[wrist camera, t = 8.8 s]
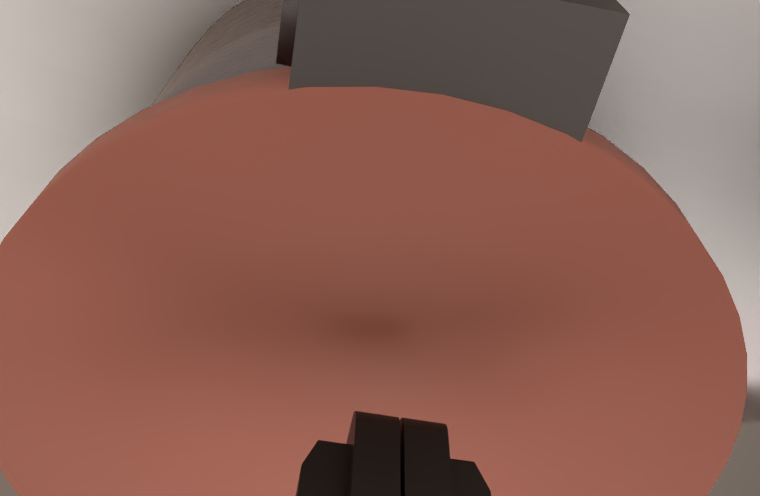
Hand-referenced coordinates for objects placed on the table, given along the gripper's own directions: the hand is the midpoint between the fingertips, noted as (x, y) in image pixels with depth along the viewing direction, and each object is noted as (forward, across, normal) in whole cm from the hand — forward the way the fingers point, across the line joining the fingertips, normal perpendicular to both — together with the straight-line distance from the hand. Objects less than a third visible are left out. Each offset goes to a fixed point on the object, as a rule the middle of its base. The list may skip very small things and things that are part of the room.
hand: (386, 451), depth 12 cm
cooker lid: (+4, 0, +3) cm, 5 cm away
